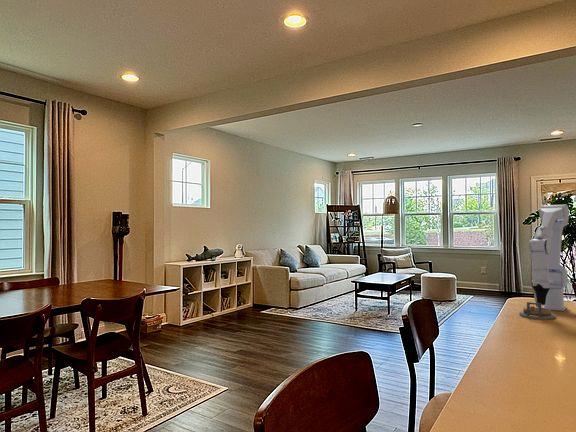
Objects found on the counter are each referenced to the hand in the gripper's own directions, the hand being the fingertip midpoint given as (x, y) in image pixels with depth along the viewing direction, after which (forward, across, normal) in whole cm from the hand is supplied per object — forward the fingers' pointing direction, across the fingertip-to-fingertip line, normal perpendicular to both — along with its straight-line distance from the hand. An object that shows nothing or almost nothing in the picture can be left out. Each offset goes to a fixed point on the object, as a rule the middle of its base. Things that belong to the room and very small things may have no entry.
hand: (541, 304), depth 159 cm
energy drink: (+4, +32, -8) cm, 33 cm away
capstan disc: (+3, -2, +2) cm, 4 cm away
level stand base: (+4, -2, +2) cm, 5 cm away
